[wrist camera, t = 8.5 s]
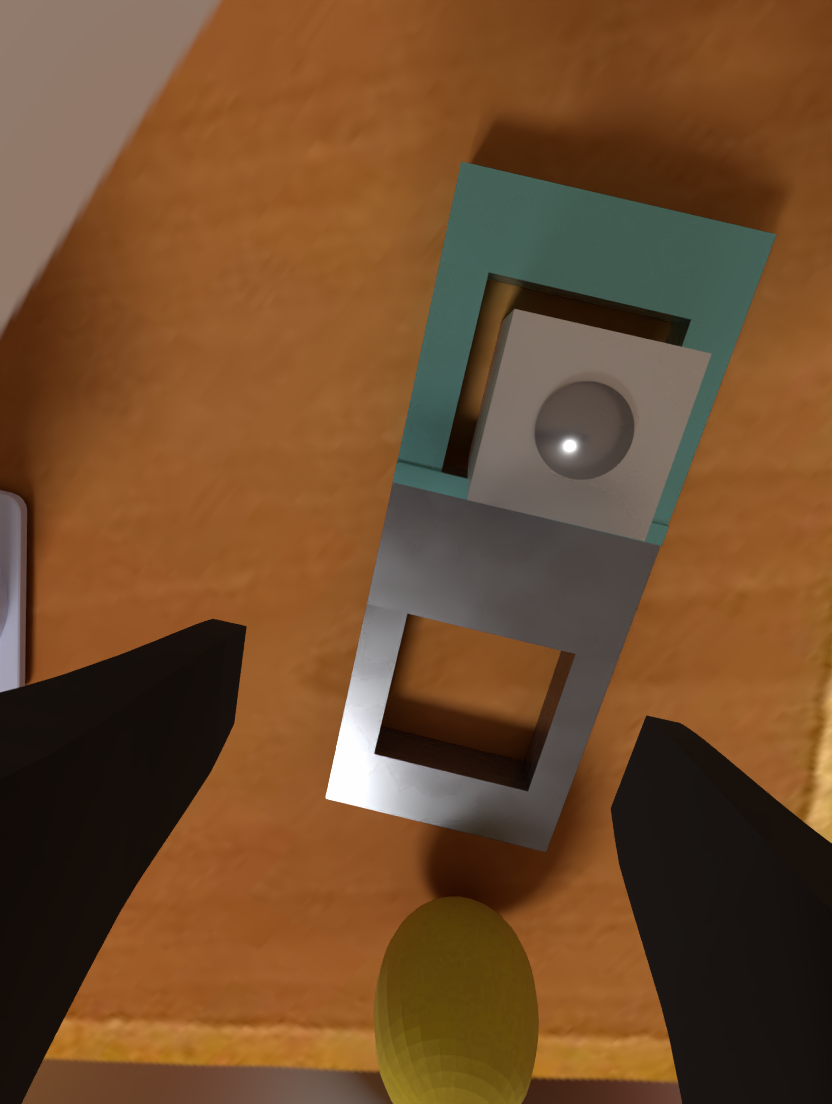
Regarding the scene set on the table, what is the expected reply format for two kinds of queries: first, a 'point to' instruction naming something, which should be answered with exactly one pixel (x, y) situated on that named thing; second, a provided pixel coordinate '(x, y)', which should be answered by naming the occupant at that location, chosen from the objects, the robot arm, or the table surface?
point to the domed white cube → (581, 423)
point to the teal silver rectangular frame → (517, 538)
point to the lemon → (456, 1008)
